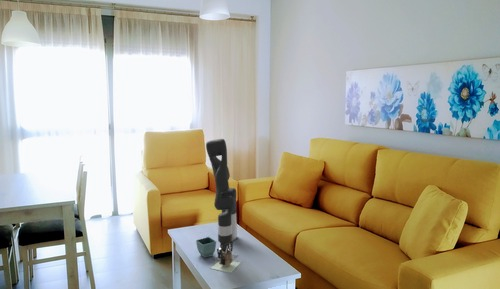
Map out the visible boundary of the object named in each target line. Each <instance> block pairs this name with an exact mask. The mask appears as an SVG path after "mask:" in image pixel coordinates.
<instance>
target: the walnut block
mask: <svg viewBox="0 0 500 289" xmlns="http://www.w3.org/2000/svg"><path fill="white" fill-rule="evenodd" d="M222 252H223V251H222ZM224 253H225V252H224ZM232 254H233V251H232V252H229V251H227V253H226V255H225V266H228V265H229V264H230V263H232V261H233V260H232ZM223 256H224V254H223ZM218 262H219V264H220V265H221V259H220V258H219V261H218Z"/></svg>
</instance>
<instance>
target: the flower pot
mask: <svg viewBox="0 0 500 289" xmlns="http://www.w3.org/2000/svg"><path fill="white" fill-rule="evenodd" d="M195 244H196V248H197V251H198V253H199V254H200V256H202V257H203V258H205V259H206V258H208V257H212V256H213V255H214V253H215V251H216V249H217V248H216V245H217V241H216V240H215V239H213V238H211V237H210V236H206V237H203V238H200V239H196V240H195Z"/></svg>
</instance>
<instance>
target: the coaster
mask: <svg viewBox="0 0 500 289" xmlns="http://www.w3.org/2000/svg"><path fill="white" fill-rule="evenodd" d="M241 264H242V263H241V262H239V261H238V262H237V261H234V260H232V263H230V264H229V265H228V266H225V265H220V264H219V261H217V263H215V264H214V265H213V266H211V267H210V269H211V270H216V271H220V272H223V273H224V272H225V273H228V274H231V273H232V272H233V271H234V270H235V269H237V268H238V267H239V266H240V265H241Z"/></svg>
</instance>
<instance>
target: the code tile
mask: <svg viewBox="0 0 500 289" xmlns="http://www.w3.org/2000/svg"><path fill="white" fill-rule="evenodd" d="M237 257H238V255H237V254H233V253H232V261H234V260H235V259H236V258H237ZM213 260H215V261H217V262H219V258H218V255H217V256H216V257H215V258H214V259H213Z"/></svg>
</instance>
